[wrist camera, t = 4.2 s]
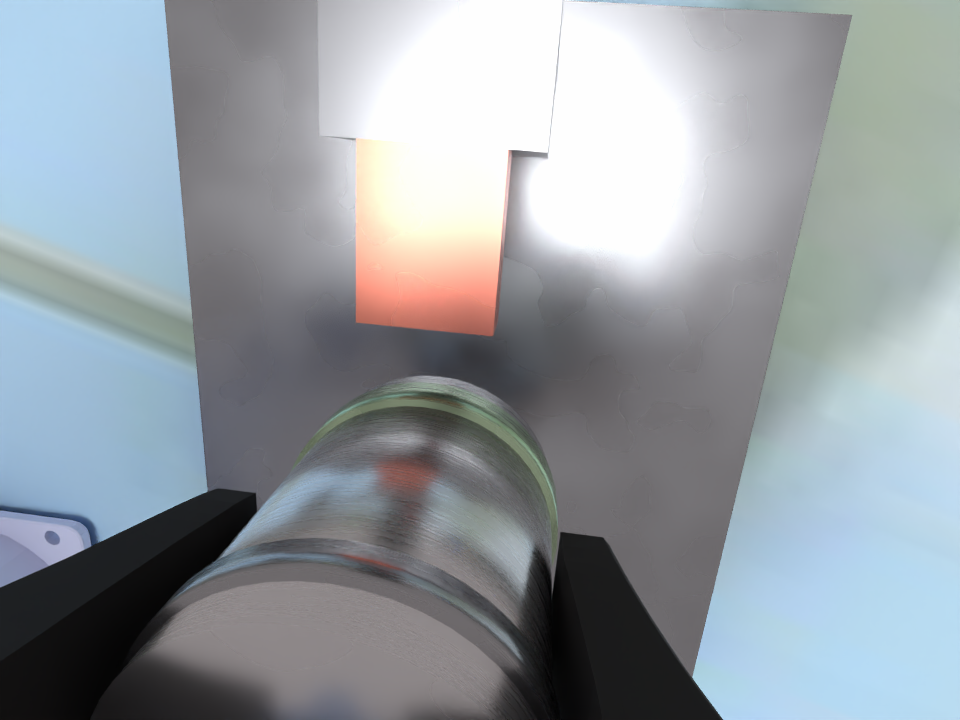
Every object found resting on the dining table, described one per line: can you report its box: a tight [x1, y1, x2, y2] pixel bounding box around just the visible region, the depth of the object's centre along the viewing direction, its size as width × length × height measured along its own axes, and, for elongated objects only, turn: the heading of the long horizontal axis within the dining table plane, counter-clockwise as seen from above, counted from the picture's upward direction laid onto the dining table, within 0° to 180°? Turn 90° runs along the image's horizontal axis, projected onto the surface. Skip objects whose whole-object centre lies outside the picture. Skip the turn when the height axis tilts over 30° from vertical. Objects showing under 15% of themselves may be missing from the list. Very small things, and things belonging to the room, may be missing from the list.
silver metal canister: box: [90, 376, 561, 720], centre depth 8 cm, size 5×5×6 cm
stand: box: [164, 0, 852, 677], centre depth 13 cm, size 14×18×7 cm
